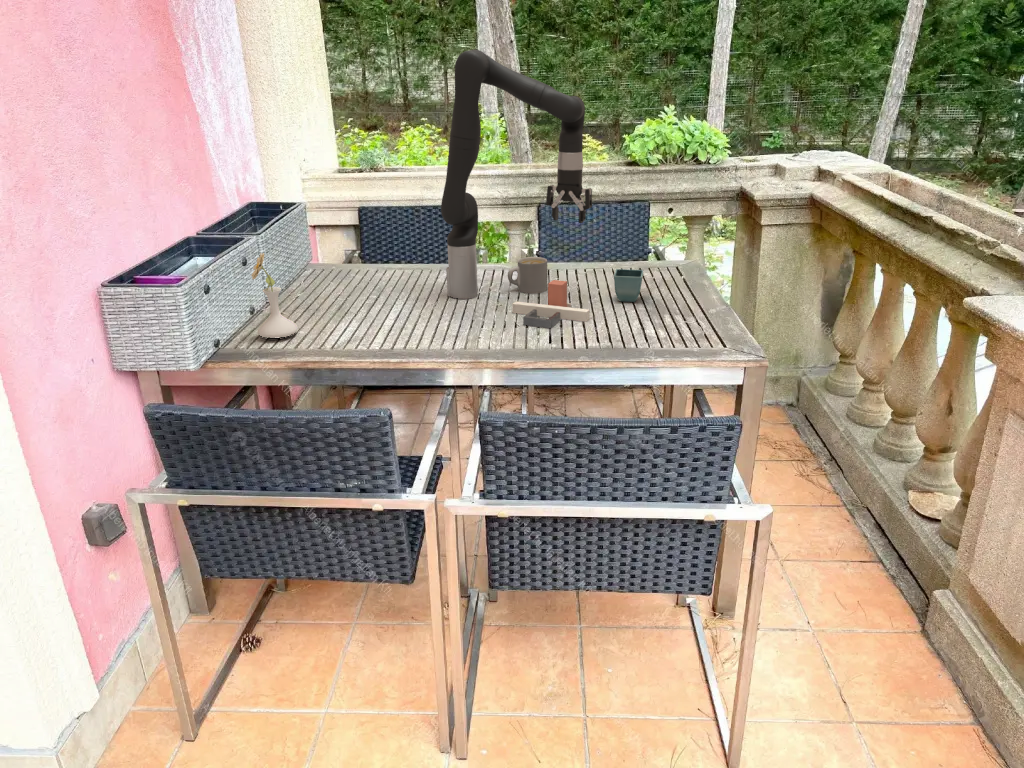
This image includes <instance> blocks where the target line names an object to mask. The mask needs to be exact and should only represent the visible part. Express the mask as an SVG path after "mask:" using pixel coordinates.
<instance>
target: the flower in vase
mask: <svg viewBox="0 0 1024 768" xmlns="http://www.w3.org/2000/svg"><path fill="white" fill-rule="evenodd" d="M264 259H265V253H264V252H263V253H262V252H260V254H259V257H257V258H256V265H254V266H253V267H252V268H253V272H252V273H251V274H250V275H251V278H252V280H255V279H257V277H258V275H259V274H260V271H261V270H263V272H265V275H266V276H267V277H266V278H265V282H266V284H267V287H266V288H264V289H262V292H263V293H264V294H265V296H266V298H267V300H268V302H269V307H270V314H269V316H268V318H266V320H265V321H263V323H262V324H261V325H260V326H259V327H258V328H257V330H256V331H257V332H256V333H257V336H259V335H260V336H262V337H261V338H263V337H271V338H275V337H285V336H288V335H291V334H293V333H295V332H296V333H297V332H298V330H299V327H298V325H297V324H296V323H295V322H294V321H292V320H290V319H289V318H287V317H286V316H283V315H282V314H281V312H280V307H279V294H280V292H281V290H282V288H281V287H278V286H274V285H275V283H276V281H275V279H273V277H271V275H270V274H268V272H267V270H266V269H265V268H264V267H263V264H264ZM273 286H274V287H273ZM296 333H295V334H296ZM293 335H294V334H293ZM260 336H259V337H260ZM291 336H292V335H291ZM285 338H286V337H285Z"/></svg>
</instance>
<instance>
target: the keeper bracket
mask: <svg viewBox="0 0 1024 768" xmlns="http://www.w3.org/2000/svg"><path fill="white" fill-rule="evenodd" d="M522 320H523V323H522V325H523V326H526V325H527V326H528V327H534V328H535V327H536V328H542V327H543V329H544V328H545V329H552V328H553V327H554V326H556V325H557V324H558V323H559V322H560V321H561V319H560V312H556V313H555V314H554V315H553V316H551V317H548V318H546V317H538V316H537V310H535V309H534V310H532V311H531V312H529V313H528V314H527V315H524V316H523V317H522Z"/></svg>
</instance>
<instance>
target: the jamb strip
mask: <svg viewBox="0 0 1024 768" xmlns="http://www.w3.org/2000/svg"><path fill="white" fill-rule="evenodd" d="M511 306H512V308H511V310H512V314H516V313H517V315H524V314H525V315H527V314H528V313H529V312H531V311H532V310H534V309H535V310H537V317H540V318H550V317H551V316H553V315H554V314H555V313H556V312H560V320H566V319H567V320H569V321H577V322H584V323H585V322H586V323H587V322H588V321H589V320H590V309H586V308H579V307H577V308H576V307H572V303H571V302H570V303H569V302H567V307H561V306H552V305H548V304H543V303H542V304H541V303H534V302H533V303H532V302H524V301H514V302H513V303H512V305H511ZM525 315H524V316H525ZM567 320H566V321H567Z"/></svg>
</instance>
